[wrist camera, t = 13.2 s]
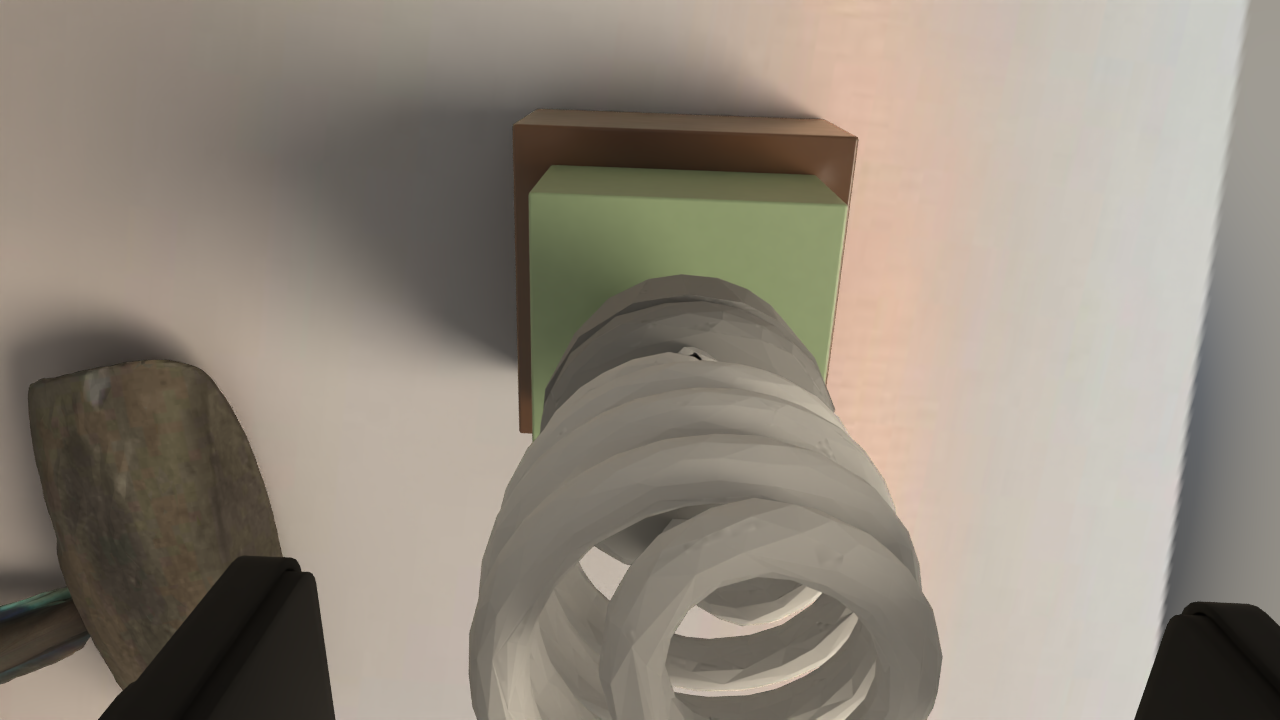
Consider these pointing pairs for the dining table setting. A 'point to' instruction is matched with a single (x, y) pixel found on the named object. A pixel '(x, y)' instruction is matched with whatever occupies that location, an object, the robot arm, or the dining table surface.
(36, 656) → the bird figurine
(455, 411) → the dining table surface
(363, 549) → the dining table surface
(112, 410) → the decorative stone
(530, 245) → the top block
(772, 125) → the base block
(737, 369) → the light bulb
